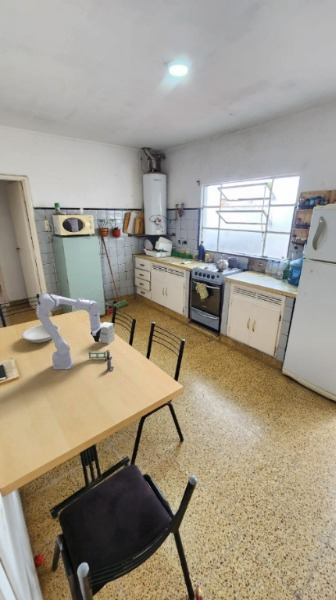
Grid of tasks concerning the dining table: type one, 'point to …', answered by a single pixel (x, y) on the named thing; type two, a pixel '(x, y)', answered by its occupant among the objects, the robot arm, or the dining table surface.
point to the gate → (97, 355)
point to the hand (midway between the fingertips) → (97, 340)
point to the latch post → (109, 366)
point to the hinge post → (108, 355)
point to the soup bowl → (38, 334)
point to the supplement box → (107, 333)
